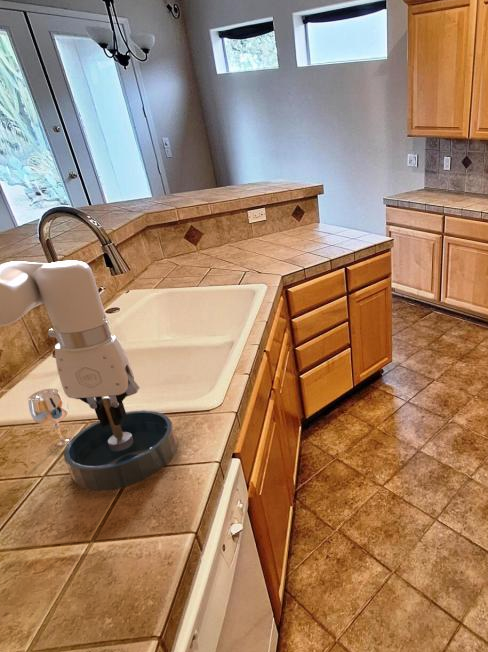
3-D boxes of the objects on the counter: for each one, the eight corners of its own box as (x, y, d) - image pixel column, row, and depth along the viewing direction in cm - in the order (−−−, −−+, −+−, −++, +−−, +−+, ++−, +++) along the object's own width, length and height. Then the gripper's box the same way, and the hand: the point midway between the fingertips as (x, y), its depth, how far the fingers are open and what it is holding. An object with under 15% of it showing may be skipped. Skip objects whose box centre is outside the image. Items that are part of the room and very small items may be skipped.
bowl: (53, 498, 75) (42, 474, 73) (100, 435, 91) (92, 414, 88) (160, 487, 78) (153, 464, 75) (188, 428, 93) (182, 407, 91)
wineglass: (39, 450, 86) (17, 400, 81) (67, 433, 91) (48, 384, 86) (60, 456, 85) (38, 405, 79) (87, 438, 90) (69, 390, 84)
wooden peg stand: (106, 452, 82) (88, 404, 77) (115, 439, 86) (99, 392, 81) (128, 450, 83) (112, 403, 78) (136, 437, 86) (122, 391, 81)
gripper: (20, 346, 69) (58, 437, 77) (124, 341, 72) (150, 430, 79) (47, 327, 76) (79, 413, 84) (141, 323, 78) (164, 407, 86)
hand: (113, 421), depth 82 cm, fingers closed on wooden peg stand, 1 cm apart
